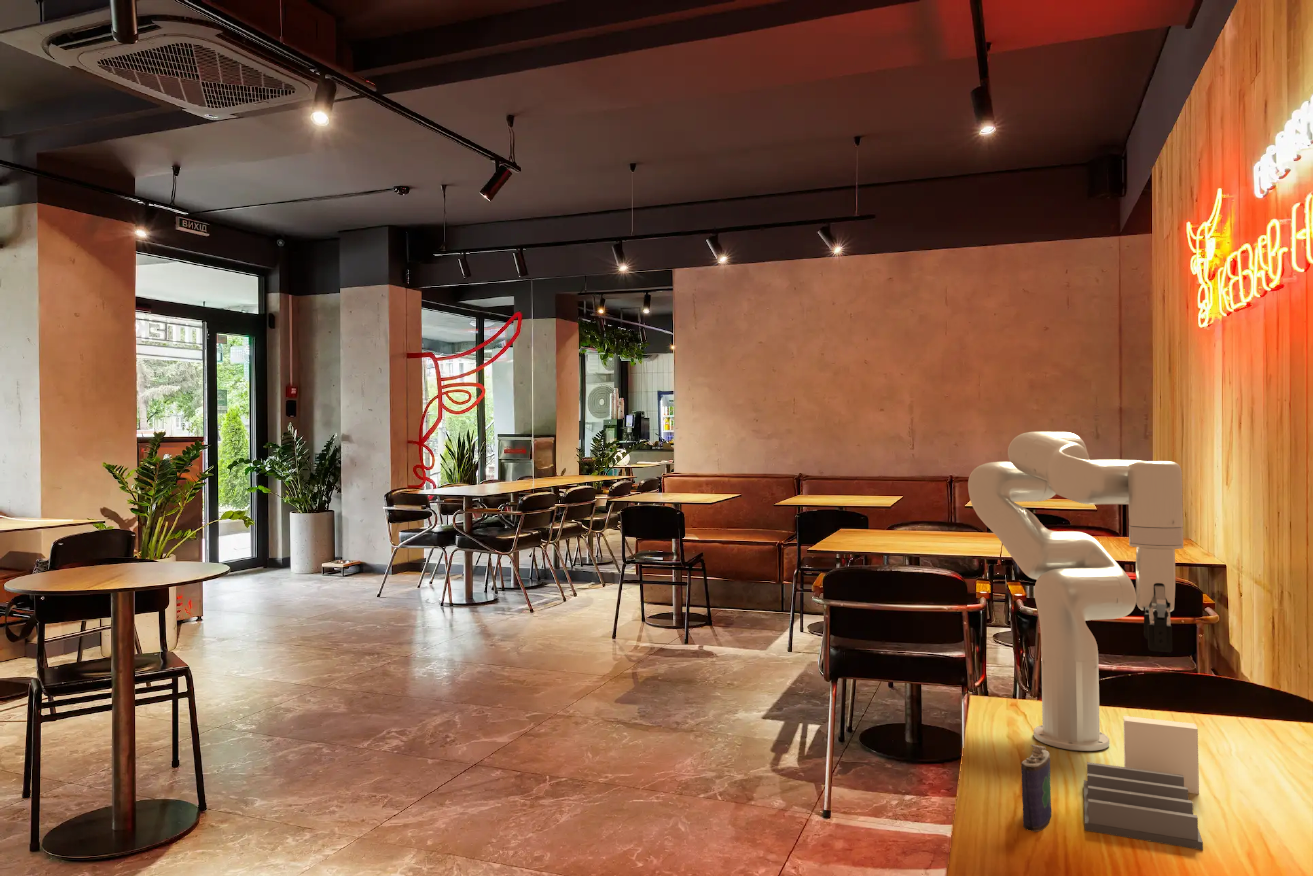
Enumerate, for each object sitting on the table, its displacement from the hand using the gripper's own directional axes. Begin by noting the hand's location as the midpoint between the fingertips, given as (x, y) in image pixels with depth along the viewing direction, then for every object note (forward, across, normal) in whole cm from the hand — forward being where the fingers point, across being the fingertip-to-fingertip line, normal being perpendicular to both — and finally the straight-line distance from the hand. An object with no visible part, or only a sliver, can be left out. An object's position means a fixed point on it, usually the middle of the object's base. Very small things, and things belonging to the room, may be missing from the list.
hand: (1157, 645), depth 137 cm
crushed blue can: (+22, +23, -17) cm, 36 cm away
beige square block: (+22, 0, 0) cm, 22 cm away
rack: (+22, +15, -4) cm, 27 cm away
